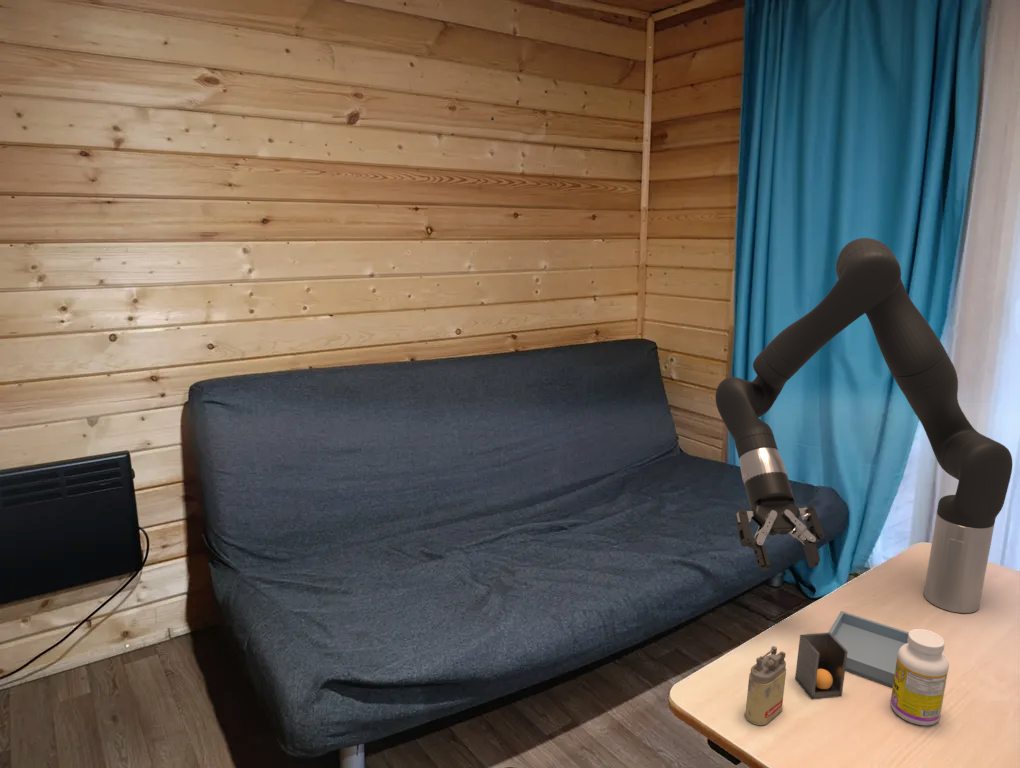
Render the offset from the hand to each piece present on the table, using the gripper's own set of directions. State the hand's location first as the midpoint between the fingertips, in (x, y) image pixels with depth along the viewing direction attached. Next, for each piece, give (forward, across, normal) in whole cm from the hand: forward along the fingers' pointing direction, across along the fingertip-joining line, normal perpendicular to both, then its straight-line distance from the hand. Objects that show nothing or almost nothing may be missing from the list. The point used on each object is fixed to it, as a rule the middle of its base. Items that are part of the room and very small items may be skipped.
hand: (790, 567), depth 124 cm
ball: (+18, 0, 0) cm, 18 cm away
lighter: (+22, -11, -1) cm, 24 cm away
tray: (+14, +13, +7) cm, 20 cm away
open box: (+18, 0, +2) cm, 19 cm away
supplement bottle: (+24, +11, -3) cm, 27 cm away
